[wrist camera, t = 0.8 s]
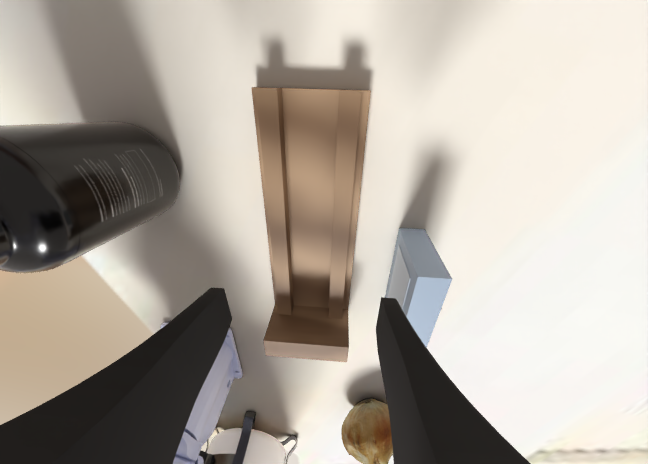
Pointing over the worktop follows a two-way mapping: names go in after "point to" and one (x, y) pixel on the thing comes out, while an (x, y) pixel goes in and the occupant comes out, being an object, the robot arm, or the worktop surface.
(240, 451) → the coffee press
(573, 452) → the worktop surface
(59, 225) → the supplement bottle
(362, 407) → the onion
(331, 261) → the door track
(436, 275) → the light blue flat block
